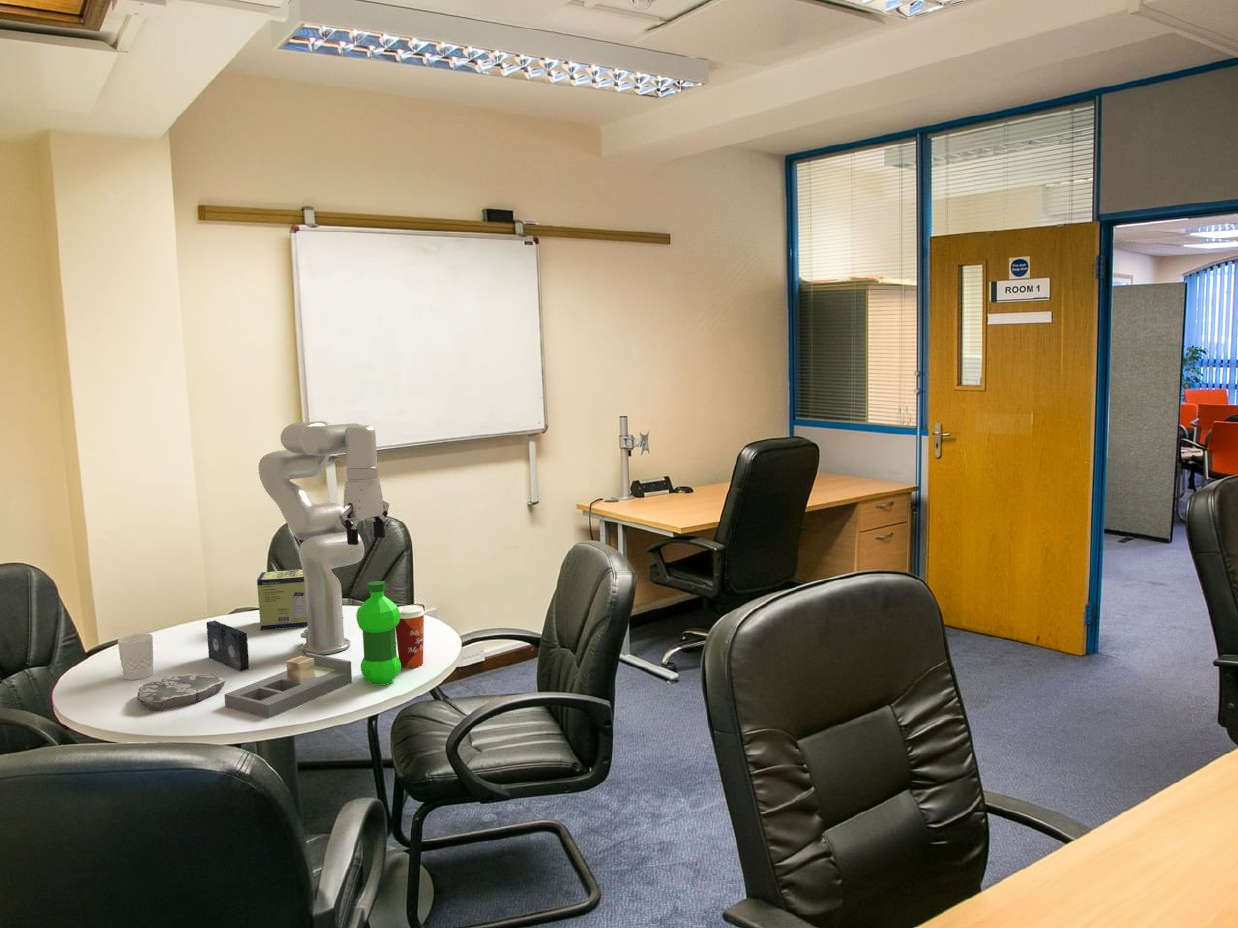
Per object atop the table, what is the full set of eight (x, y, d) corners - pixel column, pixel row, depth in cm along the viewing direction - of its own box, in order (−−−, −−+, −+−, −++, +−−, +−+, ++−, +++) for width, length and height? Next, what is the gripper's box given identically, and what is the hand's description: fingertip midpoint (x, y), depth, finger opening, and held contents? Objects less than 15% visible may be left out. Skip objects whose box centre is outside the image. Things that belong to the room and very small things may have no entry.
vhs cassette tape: (250, 669, 241) (247, 632, 239) (238, 672, 239) (236, 635, 237) (219, 655, 253) (216, 619, 252) (208, 657, 251) (205, 622, 250)
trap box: (225, 706, 215) (223, 683, 214) (309, 673, 236) (308, 652, 236) (269, 718, 208) (267, 694, 207) (352, 682, 229) (350, 661, 228)
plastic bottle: (381, 691, 223) (376, 590, 220) (351, 684, 228) (345, 585, 225) (411, 678, 231) (406, 580, 228) (381, 671, 237) (376, 576, 234)
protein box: (264, 621, 285) (260, 571, 283) (317, 616, 289) (314, 568, 287) (259, 630, 275) (256, 579, 273) (314, 626, 278) (311, 575, 277)
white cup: (162, 672, 240) (159, 634, 239) (137, 682, 233) (134, 643, 231) (139, 669, 243) (135, 632, 241) (113, 679, 235) (110, 641, 234)
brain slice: (196, 679, 235) (195, 668, 234) (235, 692, 225) (234, 680, 225) (118, 704, 219) (117, 691, 219) (156, 719, 209) (155, 706, 209)
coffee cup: (419, 670, 237) (417, 613, 235) (389, 669, 239) (386, 612, 237) (432, 659, 245) (430, 604, 243) (403, 658, 247) (400, 603, 245)
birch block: (287, 679, 224) (286, 661, 223) (302, 673, 228) (301, 655, 227) (300, 682, 222) (299, 663, 221) (315, 676, 225) (314, 658, 225)
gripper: (374, 470, 244) (378, 533, 246) (326, 478, 228) (330, 546, 230) (396, 470, 240) (400, 535, 242) (349, 479, 225) (353, 548, 227)
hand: (366, 540), depth 236 cm, fingers open, 9 cm apart
